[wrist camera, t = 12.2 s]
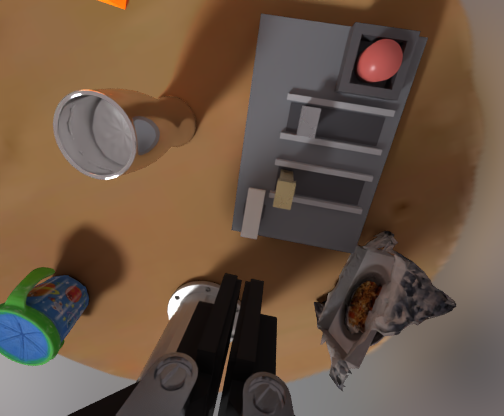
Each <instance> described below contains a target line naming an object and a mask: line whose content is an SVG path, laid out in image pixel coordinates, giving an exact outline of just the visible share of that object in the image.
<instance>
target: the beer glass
mask: <svg viewBox="0 0 504 416" xmlns="http://www.w3.org/2000/svg"><path fill="white" fill-rule="evenodd" d="M53 128H54V135H55V139H56V142H57V144H58V147H59V149H60V151H61V152H62V154H63V155H64V157H65V158H66V159H67V161H68V162H69V163H70V164H71V165H72V166H73V167H75V168H76V169H77V170H78V171H80V172H81V173H83V174H85V175H87V176H89V177H92V178H96V179H103V180H107V179H113V178H117V177H119V176H121V175H125V174H128V173H131V172H135V171H137V170H140V169H142V168H145V167H147V166H149V165H150V164H152V163H154V162H156V161H157V160H158V159H159V158H161V157H162V156H163V155H164V154H165V153H166V152H167V151H168V150H169V149H170V148H171V147H180V146H183V145H185V144H187V143H188V142H189V141H190V140H191V139H192V137H193V136H194V133H195V130H196V119H195V115H194V113H193V111H192V109H191V107H190V106H189V105H188V104H187V103H186V102H185V101H183V100H182V99H180V98H178V97H175V96H164V97H161V98H159V99H156V98H154V97H152V96H149V95H147V94H144V93H141V92H138V91H134V90H128V89H114V88H107V89H94V90H78V91H74V92H72V93H70V94H68V95H67V96H65V97H64V98H63V99H62V100H61V101H60V103H59V104H58V106H57V108H56V111H55V114H54V120H53Z"/></svg>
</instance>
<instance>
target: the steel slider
mask: <svg viewBox="0 0 504 416" xmlns="http://www.w3.org/2000/svg"><path fill="white" fill-rule="evenodd" d="M320 112H321V108H315V107H308V106H302V109H301V114H300V119H299V124H298V129H297V133H296V135H297V136H303V137H309V138H315V134H316V130H317V125H318V121H319V117H320Z"/></svg>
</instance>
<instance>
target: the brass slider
mask: <svg viewBox="0 0 504 416" xmlns="http://www.w3.org/2000/svg"><path fill="white" fill-rule="evenodd" d="M295 187H296V181H293V171H288V170H282V169H281V172H280V177H279V178H278V182H277V187H276V192H275V197H274V202H273V207H277V208H282V209H288V210H290V209H291V205H292V200H293V196H294V191H295Z"/></svg>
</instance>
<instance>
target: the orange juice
mask: <svg viewBox="0 0 504 416" xmlns="http://www.w3.org/2000/svg"><path fill="white" fill-rule="evenodd" d="M99 1H102V2H105V3H108V4H110V5H113V6H116V7H119V8H122V9H125V7H126V0H99Z"/></svg>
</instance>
